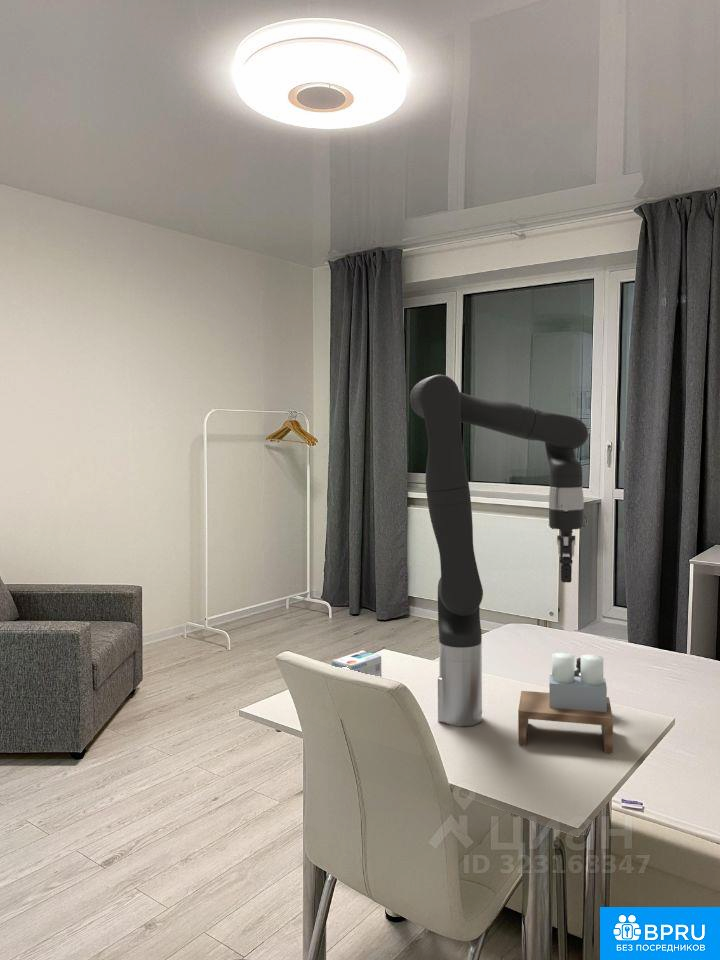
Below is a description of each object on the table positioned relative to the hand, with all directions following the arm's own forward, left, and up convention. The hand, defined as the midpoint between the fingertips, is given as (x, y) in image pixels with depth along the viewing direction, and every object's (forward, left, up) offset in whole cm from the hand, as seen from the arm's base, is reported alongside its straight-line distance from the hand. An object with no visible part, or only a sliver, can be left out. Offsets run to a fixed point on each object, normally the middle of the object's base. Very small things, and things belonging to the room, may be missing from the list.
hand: (566, 578), depth 166 cm
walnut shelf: (0, -17, -30) cm, 34 cm away
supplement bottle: (+5, -2, -30) cm, 30 cm away
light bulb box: (-47, -7, -30) cm, 57 cm away
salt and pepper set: (+2, -17, -23) cm, 29 cm away
